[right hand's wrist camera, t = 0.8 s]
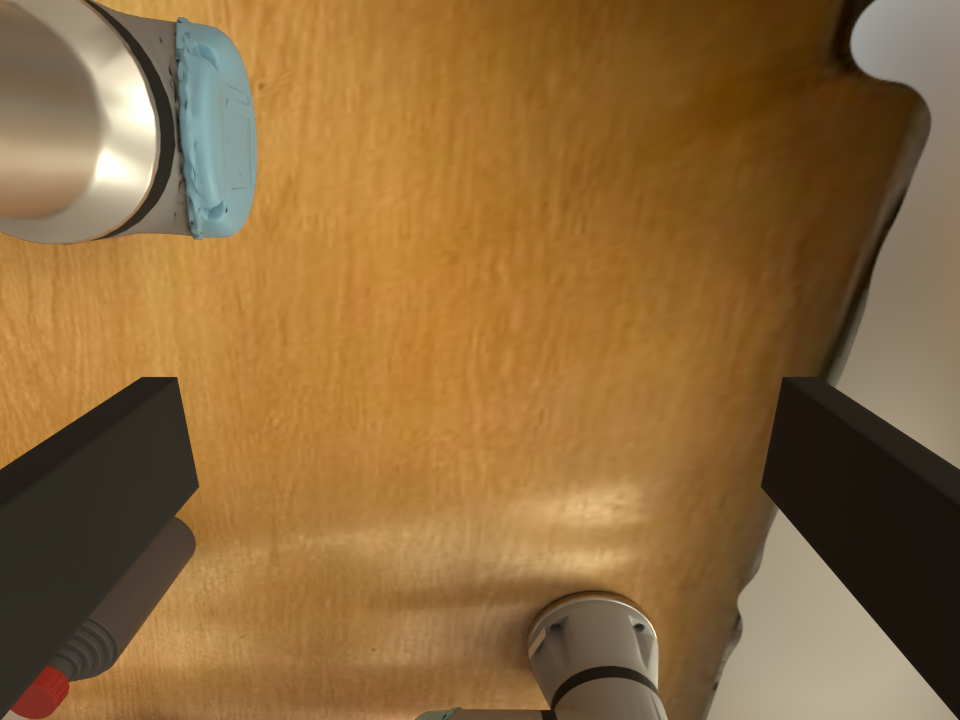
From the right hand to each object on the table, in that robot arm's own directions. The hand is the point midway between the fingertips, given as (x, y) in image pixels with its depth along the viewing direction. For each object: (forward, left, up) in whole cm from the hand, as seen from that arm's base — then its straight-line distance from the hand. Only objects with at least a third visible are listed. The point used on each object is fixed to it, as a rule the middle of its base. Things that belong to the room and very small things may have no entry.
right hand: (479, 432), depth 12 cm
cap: (-35, +36, -21) cm, 54 cm away
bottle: (-35, +36, -41) cm, 64 cm away
